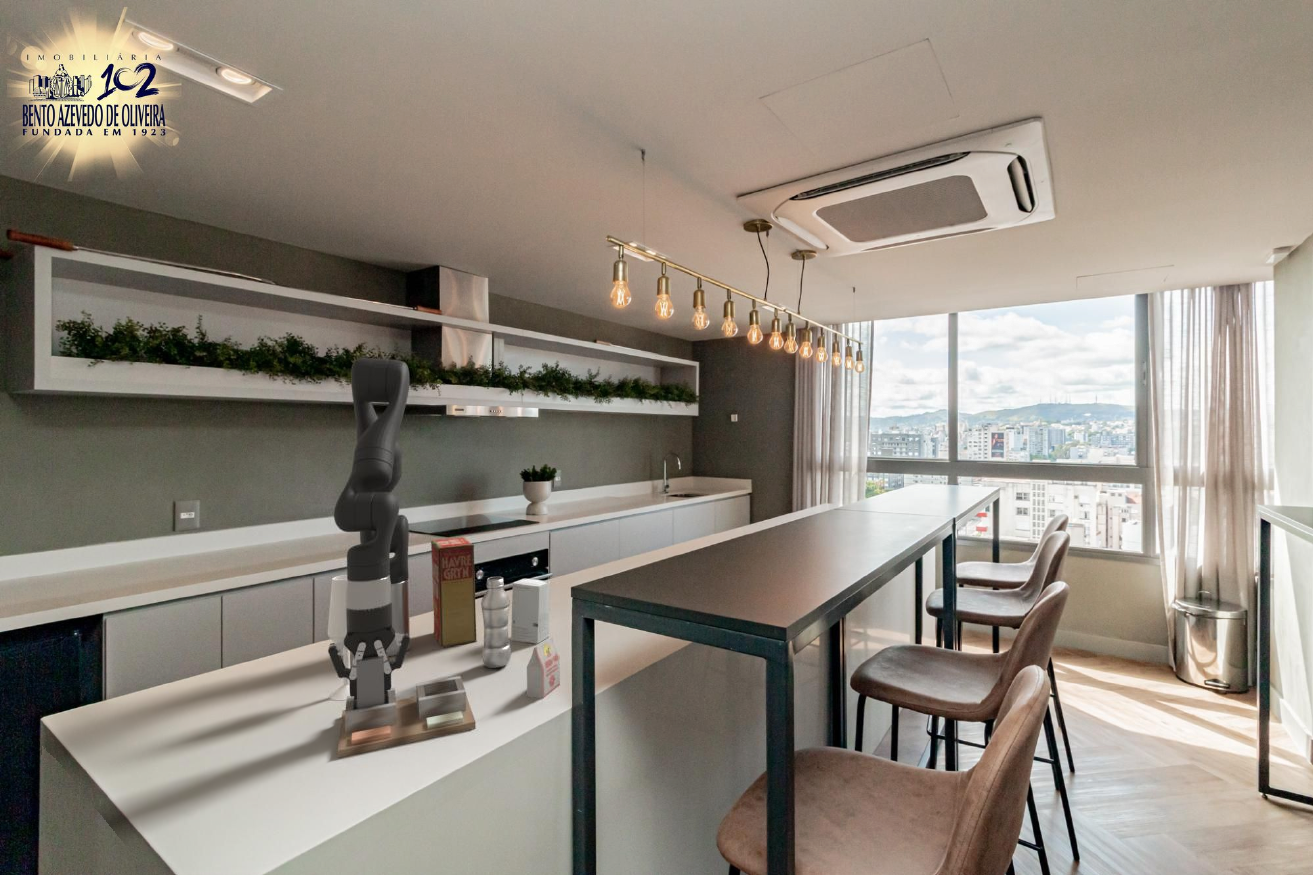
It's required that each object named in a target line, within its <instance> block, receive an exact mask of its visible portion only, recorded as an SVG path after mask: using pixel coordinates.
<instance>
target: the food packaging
mask: <svg viewBox="0 0 1313 875" xmlns="http://www.w3.org/2000/svg"><path fill="white" fill-rule="evenodd" d="M430 546H431V551H430V552H431V574H432V580H431V581H432V600H433V601H432V602H433V604H432V605H433V635H434V636H435V639H436V641H437V643H438V646H439V647H440V648H441V649H443V648H447V647H448V646H449V647H453V646H454V645H455V646H460V645H465V644H470V643H475V642H477V620H476V619H477V616H476V580H475V578H476V577H475V545H474V544H473V543H471V542H470V541H469V540H468V539H466V538H465V537H464V536H463V537H452V538H443V539H442V538H441V539H433V540H431V541H430ZM442 647H443V648H442Z"/></svg>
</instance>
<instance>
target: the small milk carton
mask: <svg viewBox="0 0 1313 875" xmlns="http://www.w3.org/2000/svg"><path fill="white" fill-rule="evenodd" d="M560 660H561V658H560V655H559V653H558V650H557V648H556V645H555V642H554V638H553V637H552V636H549V637H548V638H547V639H545V640H543V641H542V642H540V643H538V644H537V645H536V646H535V647H533V650H532V654H531V657H530V659H529V660H528V664H527V665H526V696H527V697H532V698H538V699H544V698H546V697H547V696H549V694H551V693H552V692H553V691H555V689H557V688H558V687H559V686H561V684H560V683H561V671H560V669H561V667H560V665H561V663H560V662H561V661H560Z"/></svg>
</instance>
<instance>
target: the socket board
mask: <svg viewBox="0 0 1313 875" xmlns="http://www.w3.org/2000/svg"><path fill="white" fill-rule="evenodd" d="M415 685H416V689H415V690H416V691H415V692H416V695H415V696H414V697H413V696H412V697H408V698H401V699H397V696H396V687H391V689H390V690H387V694H384V705H379V706H373V707H368V708H363V709H357V699H355V700H354V696H353V697H351V696H347V700H345V709H343V710H341V711H342V712H341V720H340V728H339V729H340V731H339V736H338V746H337V747H338V748H337V758H338V759H339V758H343V757H348V756H354V755H358V754H364V753H366V752H367V753H368V752H371V751H377V750H382V749H385V748H391V747H395V746H400V745H404V744H405V745H406V744H408V743H414V742H418V741H424V740H427V739H432V738H437V737H443V736H447V735H450V734H455V733H460V732H465V731H471V730H474V729H476V720H475V716H474V714H473V710H472V708H471V705H470V702H469V700H468V697H467V692H466V688H465V686H464V683H463V680H462V677H461V675H459V676H452V677H448V678H440V679H435V680H429V681H424V682H419V683H415Z"/></svg>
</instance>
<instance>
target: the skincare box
mask: <svg viewBox="0 0 1313 875" xmlns="http://www.w3.org/2000/svg"><path fill="white" fill-rule="evenodd" d="M511 595H512V596H511V598H512V599H511V600H512V601H511V628H510V629H511V631H510V635H511V636H510V639H511V641H512V642H513V641H514V642H520V643H521V642H522V643H531V644H536V645H539V644H541V643H542V642H544V641H545V640H547V639H549V638H550V606H551V601H550V600H551V581H547V580H540V579H530V578H522V579H519V580H517V581H514V582H512V594H511Z"/></svg>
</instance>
